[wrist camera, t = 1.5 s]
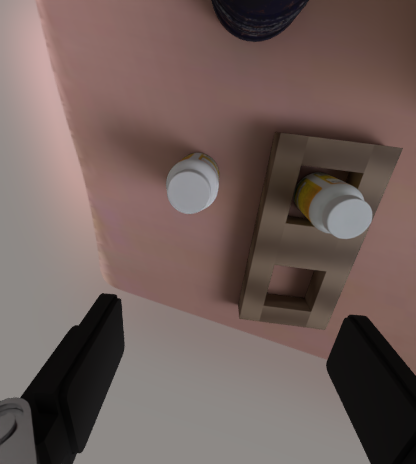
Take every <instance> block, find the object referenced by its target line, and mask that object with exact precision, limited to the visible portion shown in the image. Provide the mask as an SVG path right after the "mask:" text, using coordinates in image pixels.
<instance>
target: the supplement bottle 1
mask: <svg viewBox="0 0 416 464" xmlns="http://www.w3.org/2000/svg"><path fill="white" fill-rule="evenodd" d="M166 188H167V196H168V199H169V202H170V203H171V205H172V206H173V207H174V208H175V209H176V210H178V211H180V212H182V213H186V214H193V213H197V212H199V211H201V210H203V209H205V208H207V207H209V206H210V205H211V204H212V203H213V201H214V200H215V198H216V196H217V193H218V188H219V170H218V167H217V164H216V163H215V161H214V160H213V159H212V158H211V157H209V156H208V155H206V154H203V153H192V154H189V155H187V156H186V157H184V158H183V159H182V160H181V161H179V162H178V163H177V164H175V165H174V167H173V168H172V169H171V170H170V172H169V174H168V176H167V181H166Z"/></svg>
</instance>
